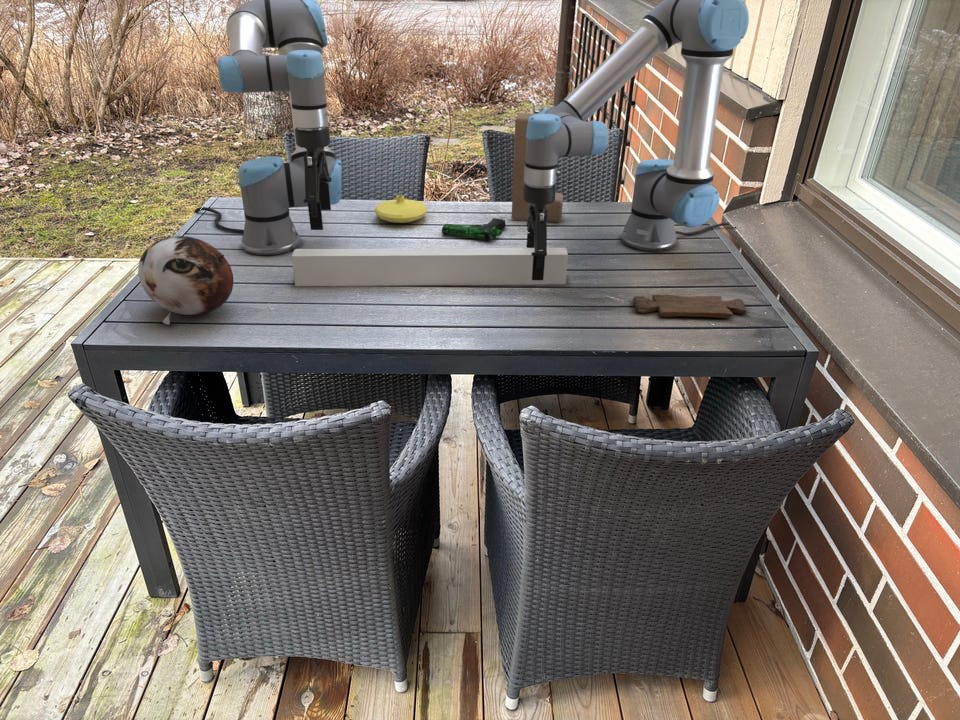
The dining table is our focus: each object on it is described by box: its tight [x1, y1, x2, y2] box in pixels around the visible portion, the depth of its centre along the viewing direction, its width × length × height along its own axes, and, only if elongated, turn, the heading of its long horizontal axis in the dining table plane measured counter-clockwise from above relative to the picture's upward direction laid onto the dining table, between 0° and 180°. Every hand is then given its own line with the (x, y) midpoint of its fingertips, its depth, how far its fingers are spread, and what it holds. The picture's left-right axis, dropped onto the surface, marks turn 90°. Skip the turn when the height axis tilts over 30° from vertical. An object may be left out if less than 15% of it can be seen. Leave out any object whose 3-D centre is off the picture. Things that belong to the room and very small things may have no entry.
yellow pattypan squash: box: [374, 194, 428, 224], centre depth 214 cm, size 16×16×7 cm
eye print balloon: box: [137, 235, 234, 326], centre depth 158 cm, size 22×18×20 cm
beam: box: [291, 247, 569, 287], centre depth 176 cm, size 67×4×8 cm, turn 93°
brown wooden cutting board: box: [632, 294, 747, 319], centre depth 166 cm, size 26×2×10 cm
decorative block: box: [511, 112, 564, 223], centre depth 211 cm, size 8×15×30 cm, turn 82°
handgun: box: [441, 217, 506, 242], centre depth 207 cm, size 16×3×15 cm
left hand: (321, 219), depth 168 cm, fingers open, 13 cm apart
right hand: (534, 268), depth 177 cm, fingers open, 13 cm apart
